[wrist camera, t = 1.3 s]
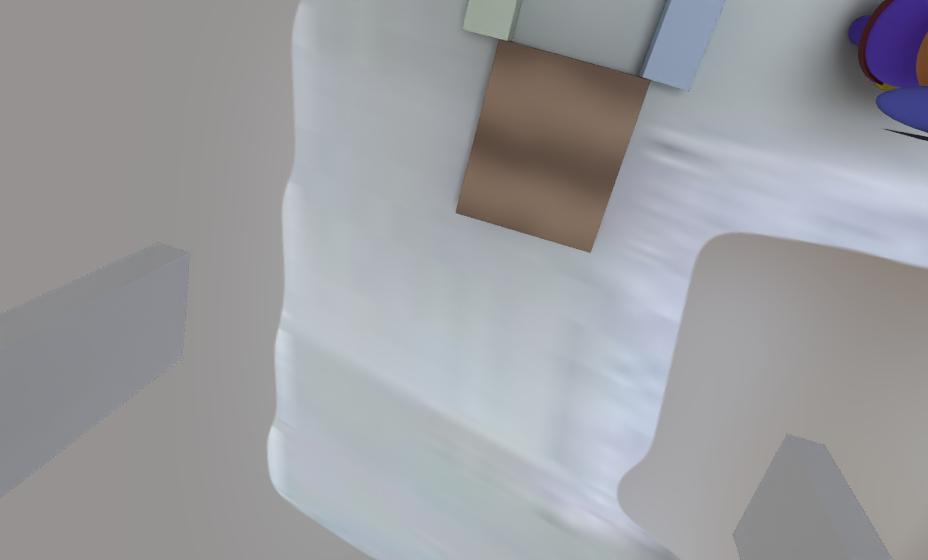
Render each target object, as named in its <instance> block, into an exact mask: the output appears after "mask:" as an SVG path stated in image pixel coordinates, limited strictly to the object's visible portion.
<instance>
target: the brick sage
mask: <svg viewBox="0 0 928 560" xmlns="http://www.w3.org/2000/svg"><path fill="white" fill-rule="evenodd" d="M521 2H522V0H469V1H468V5H467V10H466V15H465V19H464V24H463V29H462V30H466V31H470V32H474V33H478V34H482V35H486V36H490V37H494V38H498V39H502V40H506V41H512V39H513V35H514V31H515V27H516V23H517V18H518V14H519V10H520V6H521Z"/></svg>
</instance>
